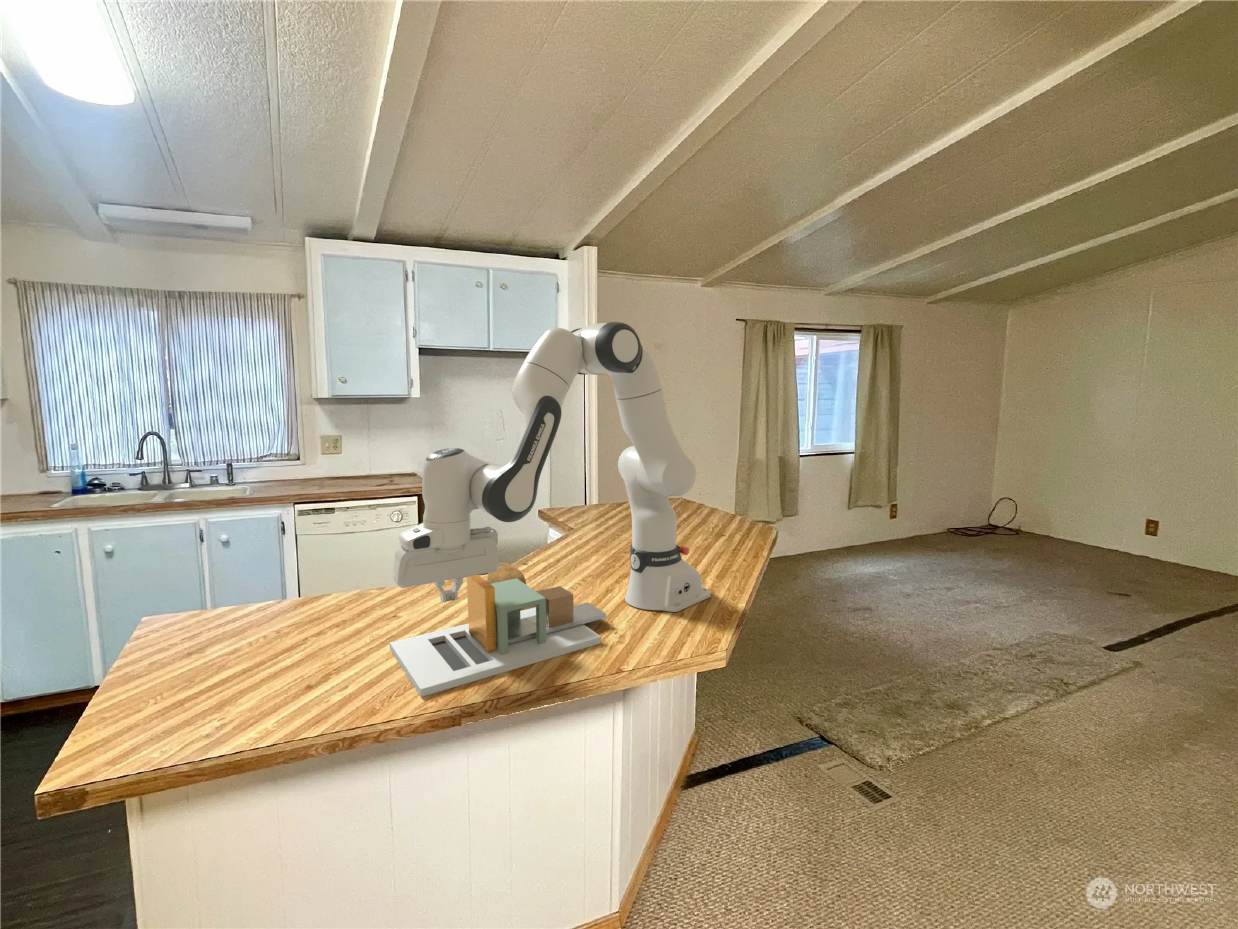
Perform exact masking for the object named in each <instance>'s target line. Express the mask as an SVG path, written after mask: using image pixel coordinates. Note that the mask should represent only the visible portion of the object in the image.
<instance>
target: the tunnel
mask: <svg viewBox="0 0 1238 929" xmlns="http://www.w3.org/2000/svg"><path fill="white" fill-rule="evenodd" d="M491 585H492V586H494V587H495V618H496V625H498V652H499V653H500V654H501V655H503V654H507V653H508V622H511V621H515V620H519V619H520V611H521V609H524V608H531V607H536V639H537V642H538V643H539V644H543V643H546V598H545V597H543V596H542V595H540V594H539V593H538V592H536V591H537V590H534V588H531V587H530V586H529V585H528V584H527V583H526V584H524V583H523V582H521V581H520V580H518V579H517V578H516V579H511V580H506V581H502V582H497V583H492V584H491Z"/></svg>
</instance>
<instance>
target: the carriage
mask: <svg viewBox="0 0 1238 929" xmlns="http://www.w3.org/2000/svg"><path fill="white" fill-rule="evenodd" d="M466 586H467V587H466V588H467V590H466V591H467V593H466V594H467V613H468V615H467V616H468V618H467V619H468V620H467V622H468V623H469V634H470V635H471V637H472V638H473V639H474V640H475V641H476V642H477V643H478V644H479V645H480V646H481V647H482V648H483V649H484V650H485V651H487V652H488V651H491V650H495V649H496V648H497V647H498V625H496V618H495V587H494V586H492V585H491V584H490V583H488V582H487V580H486V579H485V578H483V577H482V576H480V574H479V575H474V576H468V577H466ZM535 591H536V592H538V593H539V594H540V595H542V596H543V597H545V598H546V634H548V633H552V632H555V631H559V630H563V629H566V628H570V627H574V626H577V625H581V624H584V625H585V624H589V623H592V622H596V621H599V620H603V619H606V618H607V613H606V612H604V610H601V609H600V608H598V607H597V606H594V605H593V604H592V603H590V602H588V601H587V602H584V603H580V604H576V605H574V593H572V592H571V591H569V590H567V589H566V588H564V587H563V586H561V585H559V586H555V587H550V588H546V589H545V588H544V589H541V590H535ZM533 637H536V615H535V616H531V617H527V618H523V619H519V620H515V621H511V622H508V644H511V643H515V642H519V641H522V640H526V639H530V638H533Z"/></svg>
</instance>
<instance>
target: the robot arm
mask: <svg viewBox="0 0 1238 929" xmlns="http://www.w3.org/2000/svg"><path fill="white" fill-rule="evenodd" d="M605 374H607V375H608V377H609V378H610V380H611V381H612V385H613V386H612V387H613V390H614V395H615V401H616V406H617V409H618V413H619V418H620V422H621V427H622V430H623V432H624V434H626V436H627V437H628V438H629V440H630V441H631V443H632V445H631V446H628V447H627V448H625V449H624V450H623V451H622V452H621V454H620V455H619V457H618V461H617V469H618V473H619V475H620V476H621V478H622V480H623V482H624V485H625V489H626V494H627V497H628V502H629V506H630V513H631V544H630V546H629V548H630V549H629V562H630V572H629V580H628V585H627V589H626V593H625V597H624V600H625V603H627V604H628V605H629V606H631V607H634V608H637V609H640V610H646V611H647V610H649V611H665V612H670V613H677V612H680V611H682V610H684V609H686V608H689V607H691V606H693V605H695V604H698V603H700V602H702V601H705V600H707V599H709V598H711V596H712V595H711V591H710V590H709V589H708V588H706V587H705V586H703V585H702V578H701V574H700V572H699V570H697V568H695V567H693V566H692V565H691V564H689V562H686V561H685V560H684V559H682V555H685V556H687V555H689V553H690V548H689V547H687V546H684V545H681V546H679V545H678V544H677V522H678V521H677V515H676V511H675V510H674V508H673V507H672V505H671V502H670V499H669V497H682V496H685V495H687V494H688V493H689V492H690V491H691V490H692V489H693V487H694V486H695V483H696V479H697V468H696V465H695V464H694V462H693V461H692V460H691V459H690V458H689V456H687V454H686V453H685V452H684V450H683V448H682V446H681V445H680V442H679V440H678V438H677V436H676V433H675V431H674V430H673V428H672V427H673V426H672V425H671V422H670V420H669V416H668V413H667V407H666V403H665V399H664V394H663V390H662V384H661V382H660V378H659V377H660V376H659V373H658V370H657V367H656V364H655V361H654V359H653V356H652V354H651V352H650V351H649V350H648V349H647V348H645V347H643V345H642V342H641V339H640V336H639V335H638V333H637V332H636V330H635V329H634V328H633V327H632V326H631V325H630V324H627V323H624V322H620V321H610V322H598V323H592V324H590V325H589V326H585V327H579V328H576V329H573V330H571V331H570V330H568V329H566V328H563V327H562V328H561V327H552V328H549V329H547V330H546V331H545V332H544V333H543V334H542V335H541V336H540V337H539V338H538V340H537V341H536V343H535V344H534V345H533V347H531V349H530V350H529V352H528V354H527V356H526V357H525V358H524V361H523V363H522V365H521V366H520V368H519V369H518V372H517V374H516V376H515V378H514V381H513V384H512V389H511V395H512V399H513V401H514V404H515V405H516V407H517V408H518V409H519V411H521V413H522V414H523V418H524V427H523V430H522V433H521V435H520V437H519V440H518V443H517V444H516V446H515V449H514V452H513V454H512V456H511V459H510V460H509V462H508V463H507V464H506V465H504V466H502V465H500V464H496V463H493V462H490V461H485V460H483V459H480V458H478V457H476V456H474V455H472V454H470V453H468V452H467V451H466V450H465V449H463V448H459V447H451V448H442V449H439V450H435V451H433V452H431V453H430V454H429V455H428V456H427V457H425V460H424V462H423V468H422V478H421V480H422V483H421V486H422V487H421V488H422V489H421V490H422V494H421V495H422V500H423V503H424V511H423V512H424V513H423V514H422V522H421V523H419V524H417V525H415V526H413V527H410V528H408V529H406V530H404V531H402V532H400V533H399V534H398V536H397V537H398V538H397V540H398V543H399V545H400V546H399V547H398V548H397V549H396V551H395V553H394V559H393V569H392V570H393V572H392V575H393V581H394V583H395V584H396V585H397V586H398V587H400V589H406V588H412V587H417V586H423V585H428V584H434V586H435V587H436V589H437V591H439V595H440V596H439V597H440V601H441V602H442V603H445V602H451V601H457V600H458V598H459V597H458V596H459V594H458V592H459V590H460V588H461V587H462V585H463V583H464V578H467V577H468V576H474V575H479V576H480V575H483V574H488V573H490V572H495V571H496V570H497V569H498V567H499V563H500V559H499V551H498V547H497V546H498V542H499V533H498V531H497V530H496V529H494V528H492V527H491V526H485V527H478V528H477V527H476V528H471V527H472V526H471V513H472V511H475V510H480V511H482V512H485V513H487V514H489V515H490V516H492V517H493V518H495V519H496V520H499V521H500V522H503V523H504V522H505V523H514V522H517V521H520V520H522V519H523V518H524V517H526V516H527V515H528V514H529V513H530V512H531V510H532V509H533V507H534V506H535V503H536V500H537V496H538V489H539V482H540V479H541V478H540V477H541V474H542V471H543V469H544V466H545V463H546V461H547V458H548V455H549V453H550V450H551V448H552V446H553V443H554V440H555V437H556V435H557V432H558V429H559V426H560V423H561V418H562V406H563V405H564V404H563V403H564V401H565V399H566V396H567V394H568V392H569V391H570V388H571V386H572V384H573V383H574V380H575V377H576V376H577V375H580V376H581V375H583V376H585V375H591V376H595V375H596V376H601V375H605ZM681 554H682V555H681ZM446 581H453V585H452V587H451V589H448V590H444V588H443V587H445V582H446Z"/></svg>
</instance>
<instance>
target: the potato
mask: <svg viewBox="0 0 1238 929" xmlns="http://www.w3.org/2000/svg"><path fill="white" fill-rule="evenodd" d="M516 578H517V579H518V580H520V581H521V582H523V583H524V584H526V585H527V581H526V578H525V575H524V574H523V572H522V571H521V570H520V569H518V568H517V567H515V566H513V565H512V564H510V563H507V562H499V567H498V569H497V570H496V571H495V572H490V573H487V580H486V581H487V582H488V583H490V584H492V583H497V582H502V581H506V580H511V579H516Z"/></svg>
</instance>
